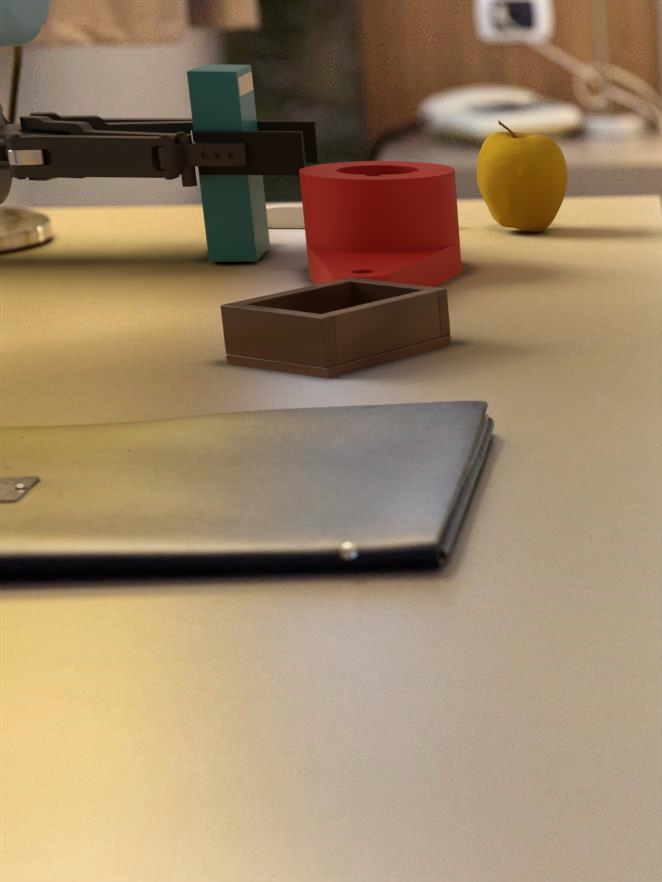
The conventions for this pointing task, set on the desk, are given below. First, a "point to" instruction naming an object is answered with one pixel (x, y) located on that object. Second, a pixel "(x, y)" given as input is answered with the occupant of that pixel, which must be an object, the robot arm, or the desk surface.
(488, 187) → the apple
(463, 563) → the desk surface
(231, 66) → the box
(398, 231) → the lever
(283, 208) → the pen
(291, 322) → the box
